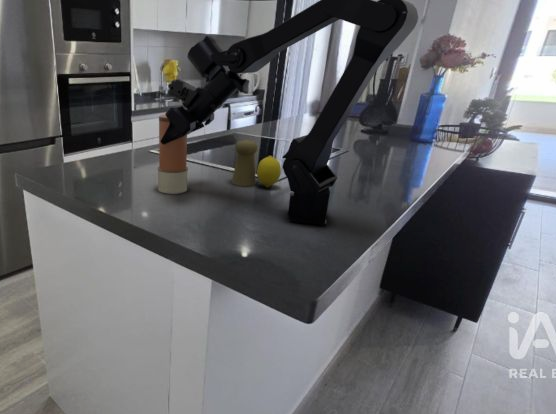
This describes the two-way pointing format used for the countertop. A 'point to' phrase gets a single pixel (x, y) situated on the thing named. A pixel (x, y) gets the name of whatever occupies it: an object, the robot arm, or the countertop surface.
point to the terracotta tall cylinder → (171, 149)
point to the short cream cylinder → (172, 181)
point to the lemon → (268, 171)
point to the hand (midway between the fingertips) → (167, 140)
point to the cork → (245, 164)
